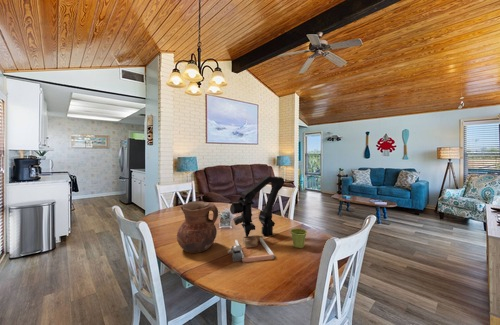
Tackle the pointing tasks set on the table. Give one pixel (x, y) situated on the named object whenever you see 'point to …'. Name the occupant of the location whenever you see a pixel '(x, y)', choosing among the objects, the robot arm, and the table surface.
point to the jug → (197, 226)
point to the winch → (236, 253)
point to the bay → (257, 258)
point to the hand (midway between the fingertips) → (246, 236)
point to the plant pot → (298, 237)
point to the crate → (250, 241)
